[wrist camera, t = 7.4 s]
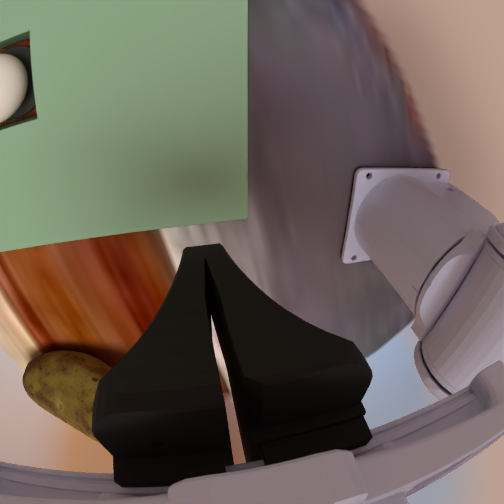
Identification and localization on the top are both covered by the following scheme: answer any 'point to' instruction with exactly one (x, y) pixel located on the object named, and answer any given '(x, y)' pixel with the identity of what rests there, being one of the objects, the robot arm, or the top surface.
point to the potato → (66, 385)
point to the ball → (11, 85)
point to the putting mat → (124, 118)
